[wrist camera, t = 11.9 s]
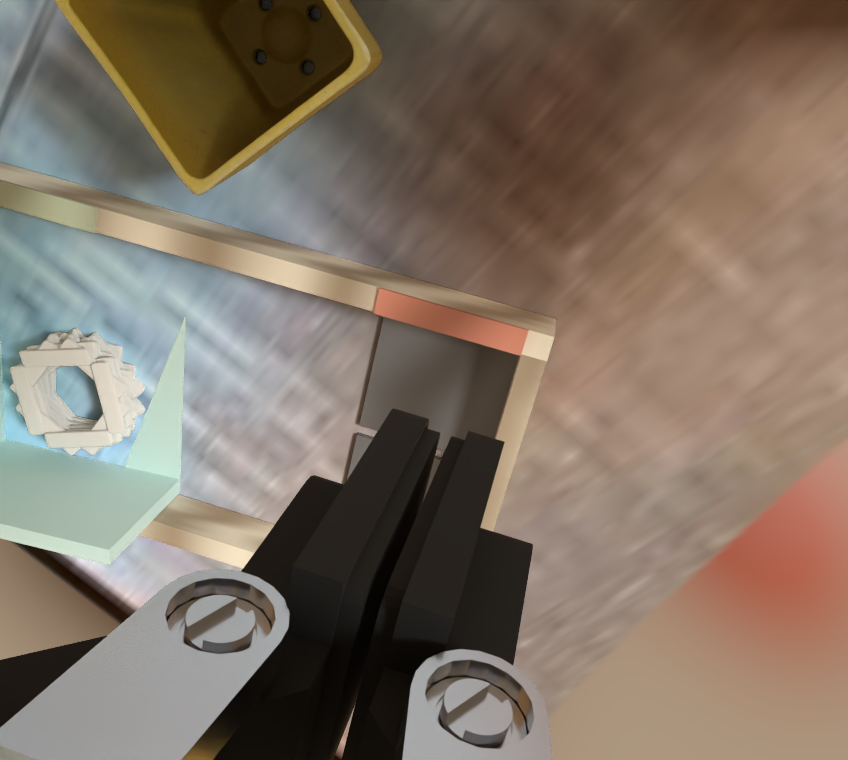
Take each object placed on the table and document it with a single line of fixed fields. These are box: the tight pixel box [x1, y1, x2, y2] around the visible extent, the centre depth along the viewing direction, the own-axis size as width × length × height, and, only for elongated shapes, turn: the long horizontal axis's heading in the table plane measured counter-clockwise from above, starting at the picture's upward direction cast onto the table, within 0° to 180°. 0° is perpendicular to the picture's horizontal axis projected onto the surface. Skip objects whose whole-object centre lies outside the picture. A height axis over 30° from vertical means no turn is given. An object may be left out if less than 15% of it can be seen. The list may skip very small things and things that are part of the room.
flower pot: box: [55, 0, 382, 195], centre depth 32 cm, size 9×9×9 cm
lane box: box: [0, 162, 557, 568], centre depth 41 cm, size 32×17×5 cm, turn 77°
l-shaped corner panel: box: [0, 315, 186, 565], centre depth 41 cm, size 12×12×8 cm
